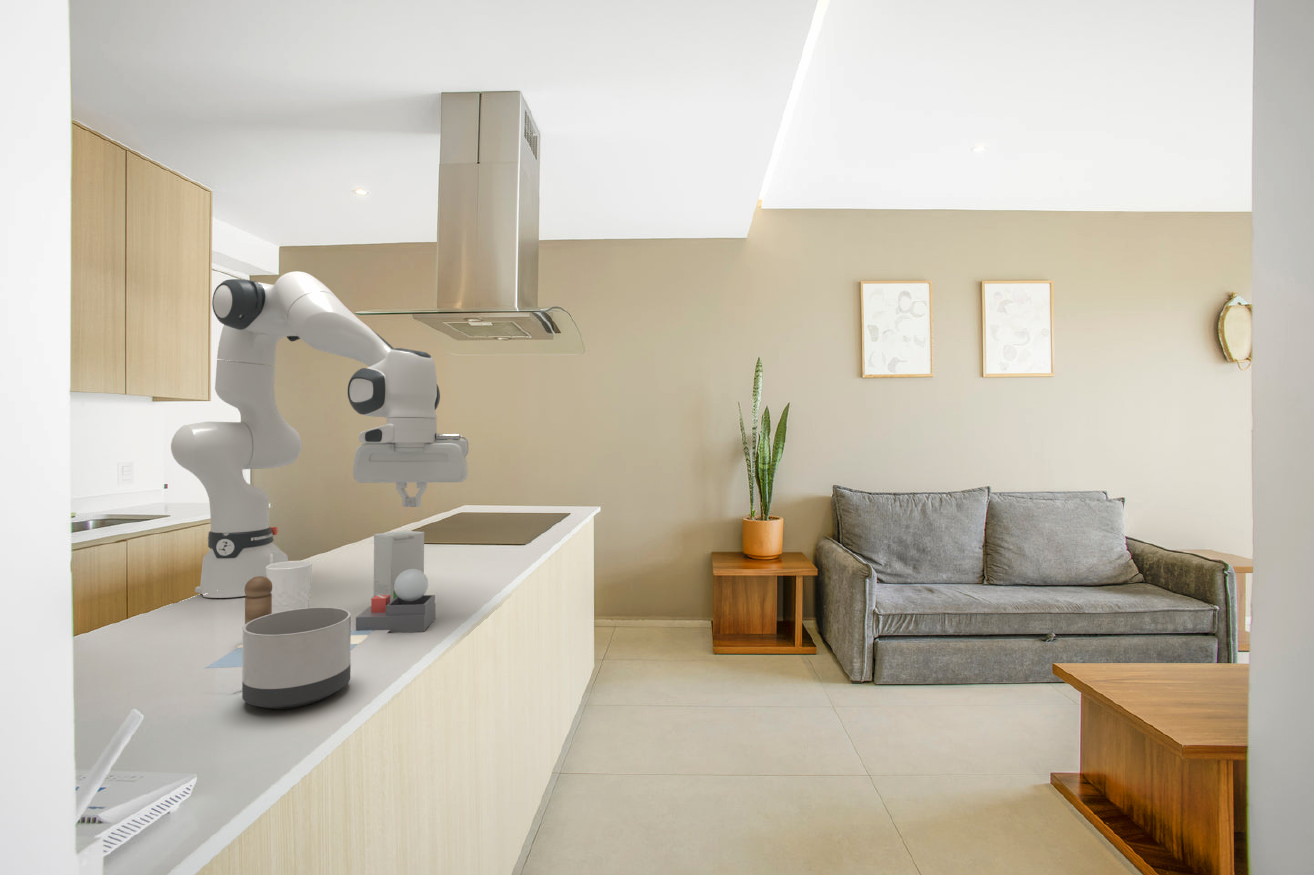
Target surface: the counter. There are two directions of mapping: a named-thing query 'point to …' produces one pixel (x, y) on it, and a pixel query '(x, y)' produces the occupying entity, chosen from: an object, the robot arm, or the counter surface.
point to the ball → (411, 585)
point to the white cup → (290, 584)
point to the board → (236, 656)
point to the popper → (397, 614)
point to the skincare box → (395, 558)
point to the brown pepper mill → (258, 598)
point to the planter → (296, 657)
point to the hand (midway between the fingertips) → (411, 506)
